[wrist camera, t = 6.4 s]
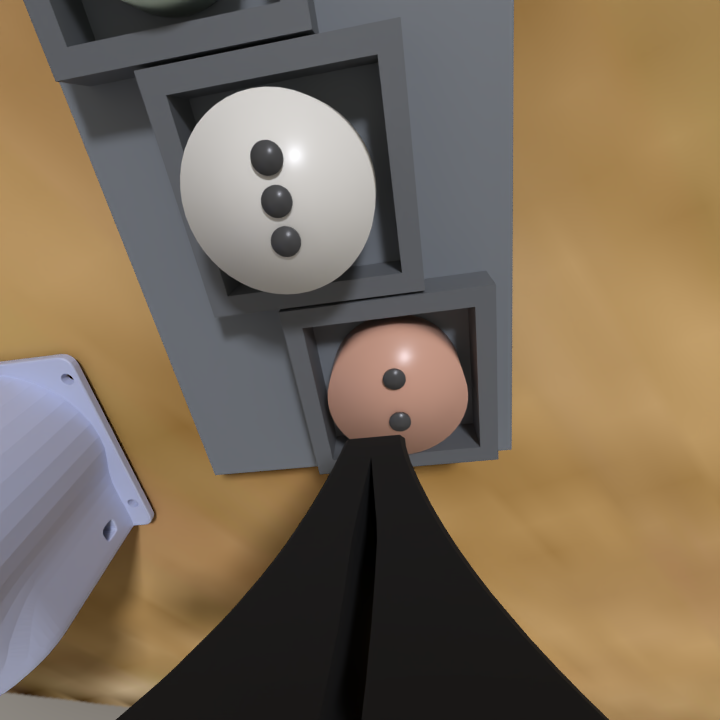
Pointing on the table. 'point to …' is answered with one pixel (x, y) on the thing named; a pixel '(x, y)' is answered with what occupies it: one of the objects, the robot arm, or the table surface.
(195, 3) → the sage button
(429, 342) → the clay button
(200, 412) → the button panel
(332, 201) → the cream button
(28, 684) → the table surface
